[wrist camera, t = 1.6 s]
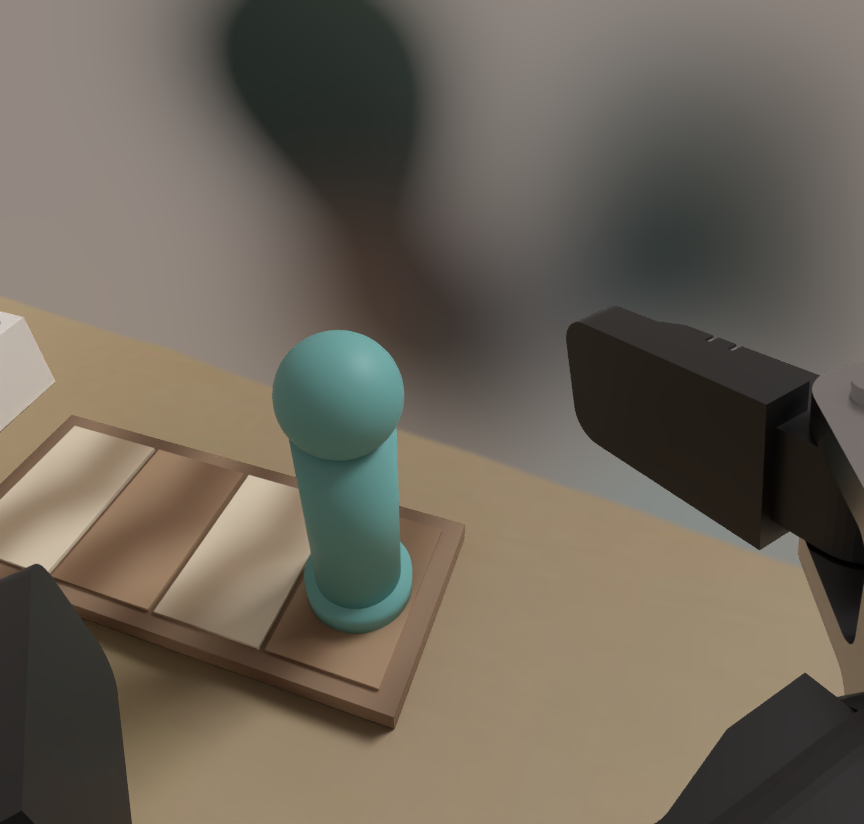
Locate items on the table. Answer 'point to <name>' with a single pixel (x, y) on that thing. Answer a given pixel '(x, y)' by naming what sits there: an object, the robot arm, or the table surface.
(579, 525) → the table surface
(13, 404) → the die
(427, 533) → the board
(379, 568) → the pawn
